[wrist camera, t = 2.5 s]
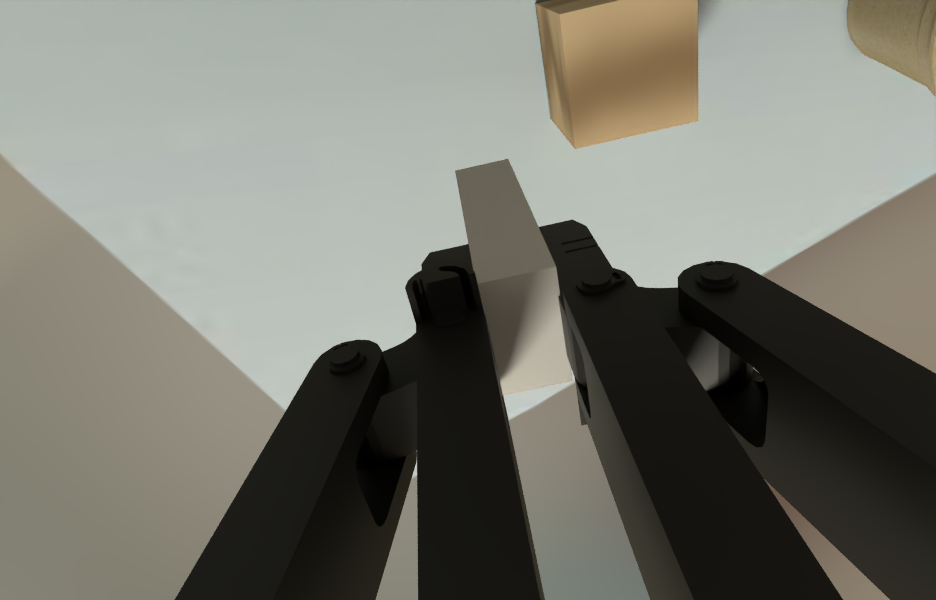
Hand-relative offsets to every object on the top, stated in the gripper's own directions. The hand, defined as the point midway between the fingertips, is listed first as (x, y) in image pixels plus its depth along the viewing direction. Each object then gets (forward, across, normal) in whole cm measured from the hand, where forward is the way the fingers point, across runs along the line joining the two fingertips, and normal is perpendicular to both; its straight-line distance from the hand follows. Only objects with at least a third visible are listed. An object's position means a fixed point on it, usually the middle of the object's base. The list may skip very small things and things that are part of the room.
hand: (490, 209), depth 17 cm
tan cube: (+18, +8, 0) cm, 20 cm away
